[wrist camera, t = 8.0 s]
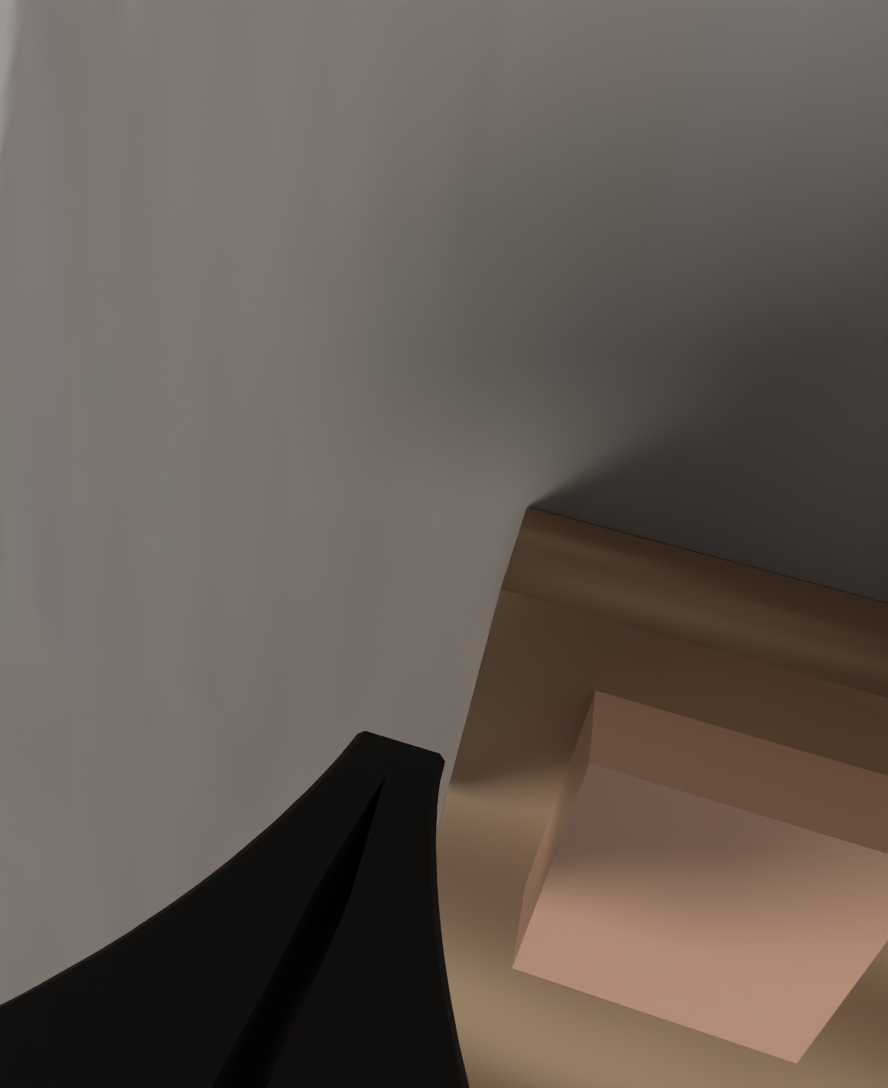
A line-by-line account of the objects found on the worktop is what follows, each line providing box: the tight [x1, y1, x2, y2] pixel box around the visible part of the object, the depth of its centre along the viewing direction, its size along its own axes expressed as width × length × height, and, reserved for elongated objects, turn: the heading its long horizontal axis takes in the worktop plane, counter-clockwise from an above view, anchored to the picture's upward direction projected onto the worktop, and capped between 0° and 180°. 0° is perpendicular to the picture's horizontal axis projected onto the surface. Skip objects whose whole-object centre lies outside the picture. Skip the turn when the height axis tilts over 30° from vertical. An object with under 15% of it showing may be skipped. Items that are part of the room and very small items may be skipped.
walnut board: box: [436, 507, 888, 1088], centre depth 15 cm, size 13×11×3 cm
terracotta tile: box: [512, 690, 888, 1064], centre depth 12 cm, size 4×4×2 cm
